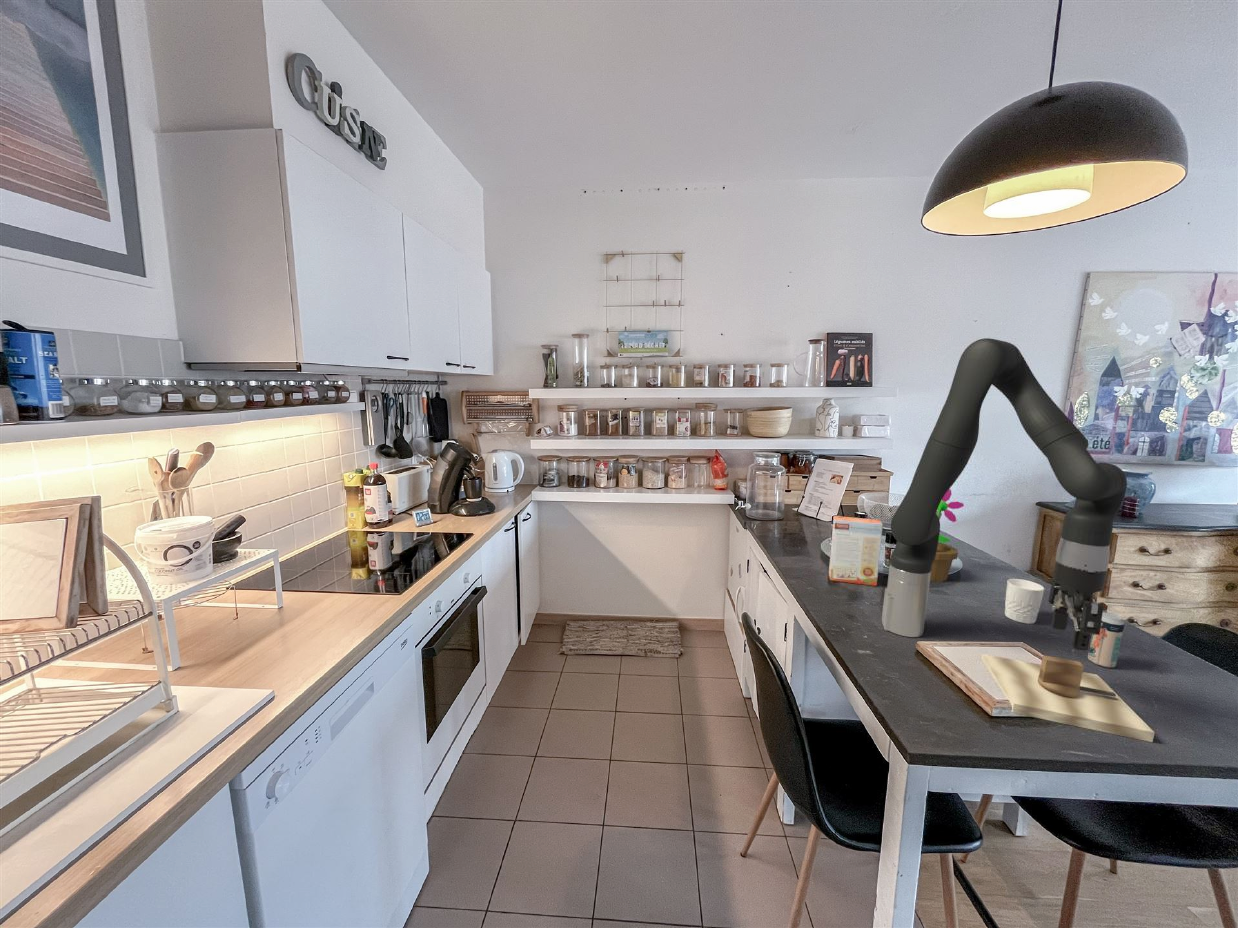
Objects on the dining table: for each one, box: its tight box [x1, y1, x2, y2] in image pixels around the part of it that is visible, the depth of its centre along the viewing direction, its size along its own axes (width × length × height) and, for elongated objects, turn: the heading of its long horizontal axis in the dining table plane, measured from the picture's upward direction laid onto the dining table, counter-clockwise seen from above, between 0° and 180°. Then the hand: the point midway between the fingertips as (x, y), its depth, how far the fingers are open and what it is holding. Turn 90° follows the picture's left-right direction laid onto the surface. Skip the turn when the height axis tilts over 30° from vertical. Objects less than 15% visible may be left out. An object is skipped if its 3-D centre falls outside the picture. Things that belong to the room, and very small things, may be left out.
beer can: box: [1087, 611, 1126, 668], centre depth 112 cm, size 5×5×12 cm
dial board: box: [981, 653, 1156, 743], centre depth 100 cm, size 21×19×2 cm
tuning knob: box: [1038, 655, 1117, 697], centre depth 99 cm, size 12×6×6 cm, turn 69°
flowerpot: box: [930, 488, 965, 583], centre depth 161 cm, size 14×14×30 cm
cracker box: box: [828, 515, 884, 587], centre depth 157 cm, size 14×6×21 cm, turn 71°
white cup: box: [1004, 578, 1045, 625], centre depth 134 cm, size 8×8×10 cm
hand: (1068, 638), depth 98 cm, fingers open, 8 cm apart
